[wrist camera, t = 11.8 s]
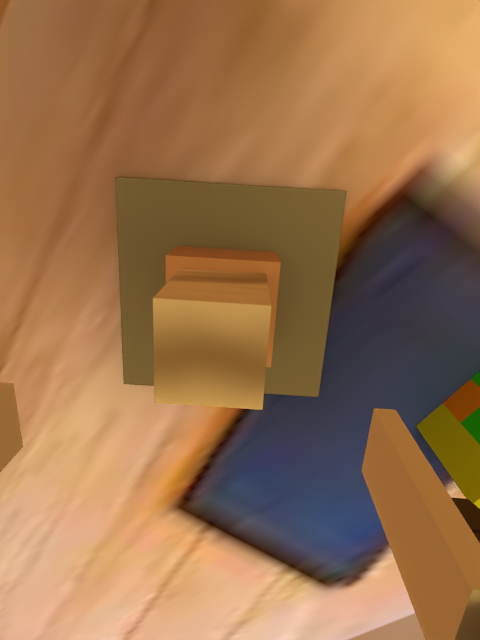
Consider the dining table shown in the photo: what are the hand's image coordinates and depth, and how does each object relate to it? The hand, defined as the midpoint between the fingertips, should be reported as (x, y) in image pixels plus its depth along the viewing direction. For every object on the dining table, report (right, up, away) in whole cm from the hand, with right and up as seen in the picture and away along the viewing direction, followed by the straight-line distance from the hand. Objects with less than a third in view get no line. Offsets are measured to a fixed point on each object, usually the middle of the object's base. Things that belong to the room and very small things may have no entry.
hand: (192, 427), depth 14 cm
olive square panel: (+1, +6, +20) cm, 21 cm away
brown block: (0, +5, +14) cm, 15 cm away
